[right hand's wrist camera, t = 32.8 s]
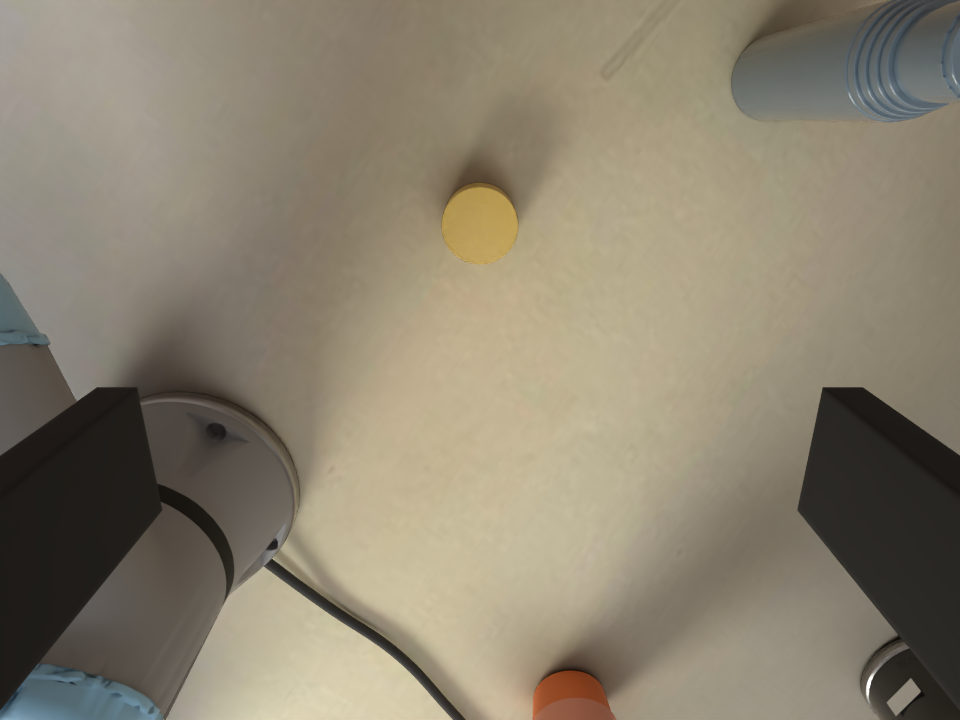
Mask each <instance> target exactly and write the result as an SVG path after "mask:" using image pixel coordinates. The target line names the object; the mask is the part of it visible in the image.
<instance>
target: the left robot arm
mask: <svg viewBox="0 0 960 720" xmlns="http://www.w3.org/2000/svg"><path fill="white" fill-rule="evenodd" d="M861 691H862V694H863V696H864V698H865V700H866V702H867V703H868V705H869V706H870V708H871V709H872V710H873V712H874V713H875V714H876V715H877V716H878V717H879V719H880V720H960V710H959V709H958V708H957V707H956V705H955V704H954V703H953V702H952V700H951V699H950V698H949V697H948V695H947V694H946V693H945V692H944V690H943V689H942V688H941V687H940V686H939V684H938V683H937V682H936V681H935V679H934V678H933V677H932V676H931V674H930V673H929V672H928V671H927V670H926V668H925V667H924V666H923V665H922V663H921V662H920V661H919V660H918V658H917V657H916V656H915V655H914V653H913V652H912V651H911V650H910V649H909V647H908V646H907V645H906V644H905V642H904V641H903V640H902V639H899V640H896V641H894V642H892V643H891V644H889V645H887V646H886V647H884V648H883V649H881V650H880V651H879V652H878V653H877V654H876V655H875V656H874V657H873V658H872V659H871V660H870V661H869V663H868V664H867V666H866V668H865V670H864V672H863V675H862V678H861Z"/></svg>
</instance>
